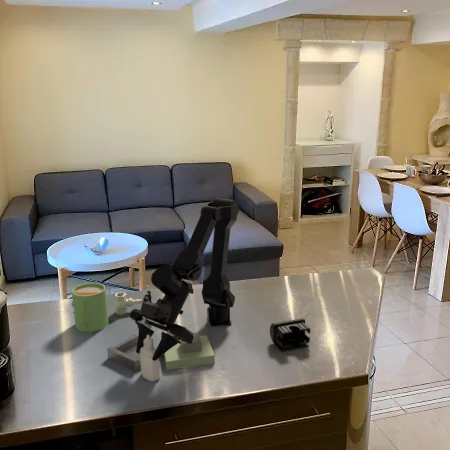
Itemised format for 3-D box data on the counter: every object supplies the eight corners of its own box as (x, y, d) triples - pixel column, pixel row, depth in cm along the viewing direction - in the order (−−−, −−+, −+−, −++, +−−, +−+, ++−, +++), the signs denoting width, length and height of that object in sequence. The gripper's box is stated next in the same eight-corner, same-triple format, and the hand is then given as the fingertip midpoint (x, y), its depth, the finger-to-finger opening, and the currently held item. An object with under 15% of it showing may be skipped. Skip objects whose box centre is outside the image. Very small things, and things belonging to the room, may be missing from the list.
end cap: (299, 334, 147) (300, 314, 145) (310, 346, 141) (312, 325, 139) (269, 340, 144) (269, 320, 142) (279, 352, 138) (280, 331, 136)
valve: (115, 317, 159) (152, 313, 162) (114, 299, 157) (151, 294, 160) (114, 309, 165) (150, 304, 168) (113, 291, 163) (149, 286, 166)
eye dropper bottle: (143, 384, 124) (140, 342, 120) (140, 372, 129) (137, 331, 125) (160, 381, 125) (158, 339, 122) (157, 369, 130) (154, 328, 127)
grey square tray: (135, 342, 143) (134, 333, 143) (162, 354, 137) (162, 344, 136) (108, 358, 136) (107, 348, 135) (135, 371, 129) (134, 361, 128)
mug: (80, 316, 160) (76, 282, 156) (112, 316, 159) (109, 282, 156) (67, 335, 147) (63, 299, 144) (101, 336, 147) (98, 299, 144)
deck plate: (206, 342, 143) (206, 326, 141) (214, 363, 133) (214, 345, 131) (162, 348, 140) (161, 331, 138) (166, 369, 130) (166, 351, 128)
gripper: (131, 280, 129) (101, 335, 123) (184, 298, 118) (154, 358, 113) (154, 297, 137) (127, 349, 132) (205, 315, 126) (178, 372, 121)
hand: (145, 356), depth 124 cm, fingers closed on eye dropper bottle, 5 cm apart
